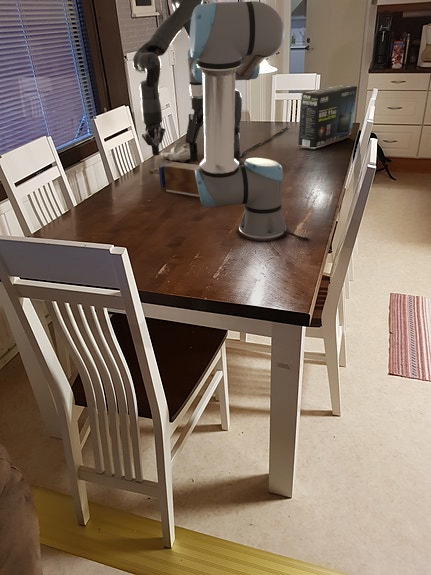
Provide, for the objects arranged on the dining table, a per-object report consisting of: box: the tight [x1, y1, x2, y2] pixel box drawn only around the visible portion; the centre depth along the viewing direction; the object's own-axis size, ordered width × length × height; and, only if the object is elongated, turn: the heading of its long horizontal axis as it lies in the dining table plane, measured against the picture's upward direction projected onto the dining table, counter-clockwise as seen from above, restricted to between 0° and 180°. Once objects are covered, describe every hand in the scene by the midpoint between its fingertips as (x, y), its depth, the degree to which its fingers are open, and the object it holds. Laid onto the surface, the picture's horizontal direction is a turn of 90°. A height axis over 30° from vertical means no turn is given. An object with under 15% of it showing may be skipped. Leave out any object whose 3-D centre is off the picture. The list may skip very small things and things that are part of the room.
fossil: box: [160, 142, 199, 163], centre depth 229 cm, size 18×11×15 cm
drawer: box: [149, 163, 168, 189], centre depth 185 cm, size 25×5×9 cm, turn 61°
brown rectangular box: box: [164, 161, 200, 198], centre depth 183 cm, size 21×6×10 cm, turn 61°
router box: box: [297, 84, 358, 151], centre depth 238 cm, size 36×11×27 cm, turn 134°
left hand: (156, 155), depth 185 cm, fingers closed
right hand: (203, 156), depth 175 cm, fingers open, 13 cm apart
